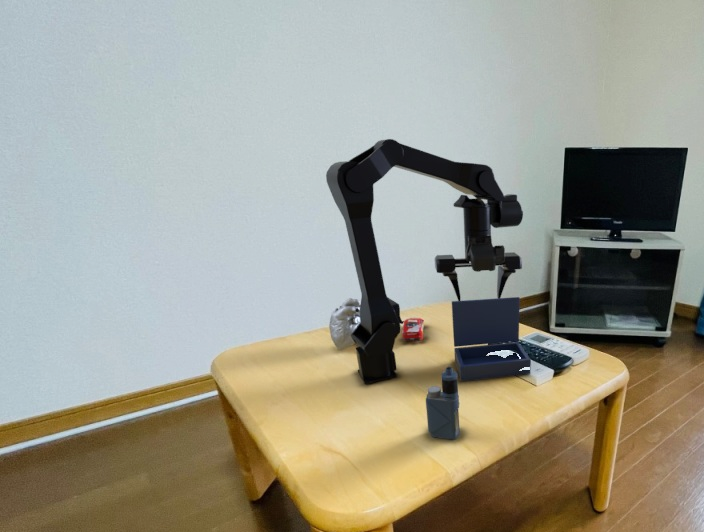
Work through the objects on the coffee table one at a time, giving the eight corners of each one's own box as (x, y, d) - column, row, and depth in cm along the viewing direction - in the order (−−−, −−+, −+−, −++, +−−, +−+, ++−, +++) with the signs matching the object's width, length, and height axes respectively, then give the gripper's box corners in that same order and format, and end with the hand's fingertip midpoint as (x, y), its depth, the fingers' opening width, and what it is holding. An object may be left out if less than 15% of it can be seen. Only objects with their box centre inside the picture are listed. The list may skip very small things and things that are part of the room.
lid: (519, 297, 84) (514, 291, 89) (451, 302, 81) (449, 295, 85) (518, 341, 89) (513, 333, 93) (454, 346, 85) (451, 338, 90)
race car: (405, 325, 107) (403, 311, 105) (425, 324, 108) (424, 310, 106) (400, 344, 95) (398, 329, 94) (423, 343, 96) (422, 328, 94)
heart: (341, 333, 100) (328, 290, 93) (377, 334, 99) (366, 292, 93) (322, 356, 92) (306, 311, 85) (361, 358, 91) (347, 312, 84)
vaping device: (457, 441, 61) (454, 373, 56) (426, 436, 62) (419, 369, 57) (463, 431, 64) (459, 365, 59) (432, 427, 64) (426, 361, 59)
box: (530, 373, 82) (530, 359, 81) (461, 381, 79) (460, 367, 77) (518, 355, 91) (518, 341, 89) (454, 361, 87) (454, 347, 86)
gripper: (436, 236, 75) (441, 313, 81) (530, 233, 79) (528, 307, 85) (432, 228, 84) (437, 298, 91) (515, 226, 89) (514, 293, 95)
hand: (479, 299), depth 90 cm, fingers open, 9 cm apart
